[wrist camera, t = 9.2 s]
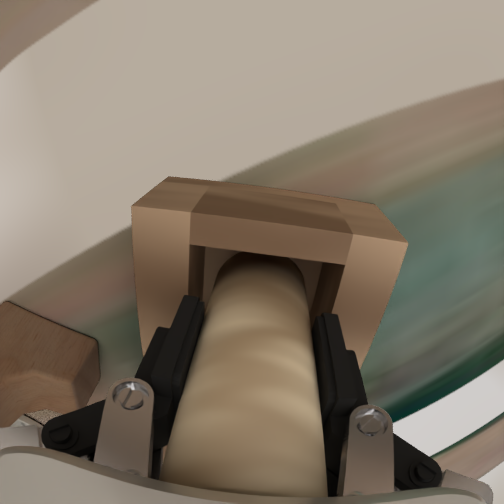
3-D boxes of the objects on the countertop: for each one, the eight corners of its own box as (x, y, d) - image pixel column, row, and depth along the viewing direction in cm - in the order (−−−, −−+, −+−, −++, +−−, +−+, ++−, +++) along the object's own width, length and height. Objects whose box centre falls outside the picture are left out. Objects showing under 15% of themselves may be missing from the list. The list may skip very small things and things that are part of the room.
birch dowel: (313, 255, 14) (355, 490, 5) (295, 328, 15) (304, 535, 6) (218, 242, 14) (140, 470, 5) (213, 318, 15) (163, 521, 6)
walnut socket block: (295, 438, 24) (296, 511, 17) (176, 423, 24) (157, 494, 17) (375, 204, 15) (436, 277, 9) (168, 176, 15) (98, 233, 9)
